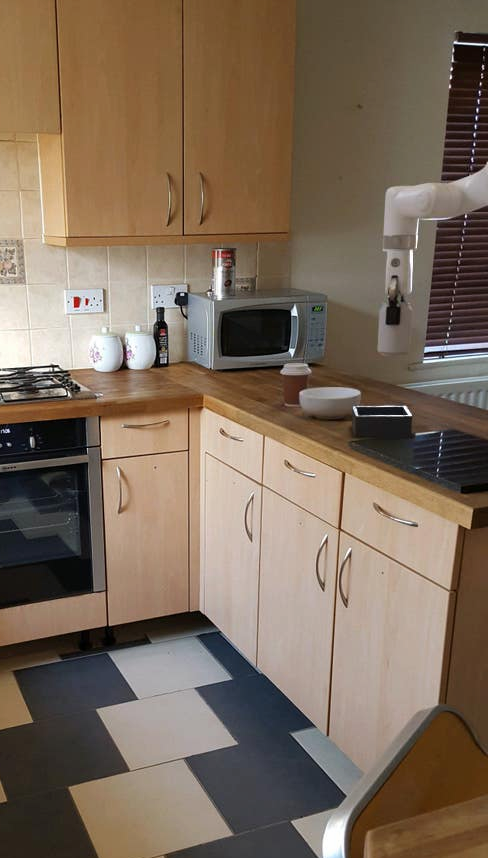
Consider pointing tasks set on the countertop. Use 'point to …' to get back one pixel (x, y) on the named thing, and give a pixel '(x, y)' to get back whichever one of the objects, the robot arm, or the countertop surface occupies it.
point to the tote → (381, 422)
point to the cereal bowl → (329, 401)
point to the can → (395, 332)
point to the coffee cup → (294, 382)
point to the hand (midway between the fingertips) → (395, 322)
